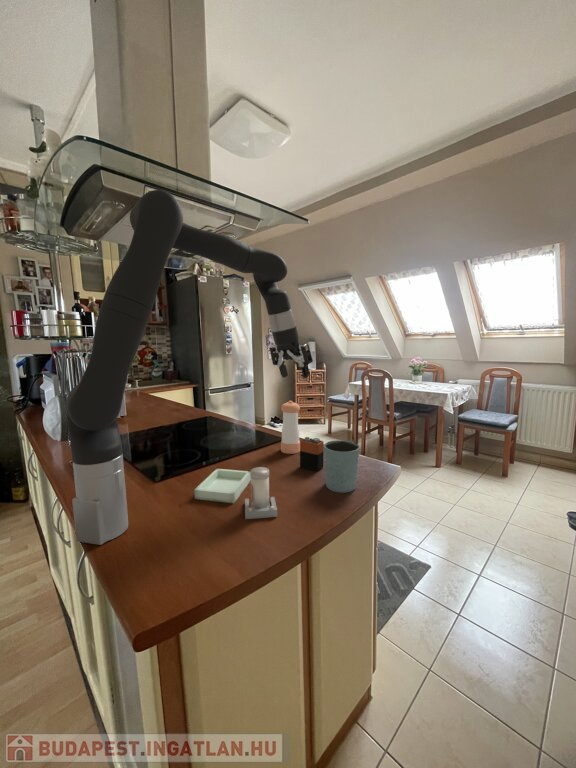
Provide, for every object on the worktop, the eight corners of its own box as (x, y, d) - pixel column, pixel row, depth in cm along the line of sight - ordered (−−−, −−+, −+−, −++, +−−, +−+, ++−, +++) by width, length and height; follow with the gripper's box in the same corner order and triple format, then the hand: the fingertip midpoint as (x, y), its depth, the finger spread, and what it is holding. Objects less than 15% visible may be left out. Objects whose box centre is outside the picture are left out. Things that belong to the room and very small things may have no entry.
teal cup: (324, 493, 87) (324, 451, 86) (322, 477, 97) (322, 439, 96) (361, 494, 87) (362, 452, 85) (355, 477, 97) (356, 440, 95)
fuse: (270, 512, 78) (269, 474, 76) (251, 514, 77) (250, 475, 76) (268, 503, 82) (268, 466, 81) (251, 504, 81) (250, 467, 80)
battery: (317, 472, 101) (318, 441, 100) (299, 467, 105) (299, 438, 103) (323, 467, 105) (324, 438, 103) (306, 463, 108) (306, 434, 107)
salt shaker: (277, 451, 120) (276, 401, 117) (288, 445, 125) (288, 398, 123) (292, 455, 115) (292, 403, 112) (303, 449, 121) (304, 400, 118)
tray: (233, 503, 82) (233, 493, 82) (194, 498, 84) (194, 489, 84) (251, 479, 96) (251, 471, 95) (217, 476, 98) (216, 468, 98)
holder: (277, 516, 76) (277, 507, 76) (245, 519, 75) (245, 510, 75) (274, 501, 83) (274, 492, 83) (245, 503, 82) (244, 494, 82)
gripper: (258, 332, 97) (271, 381, 102) (294, 328, 88) (307, 382, 93) (273, 325, 102) (285, 372, 108) (309, 321, 93) (320, 372, 98)
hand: (295, 377), depth 100 cm, fingers open, 8 cm apart
